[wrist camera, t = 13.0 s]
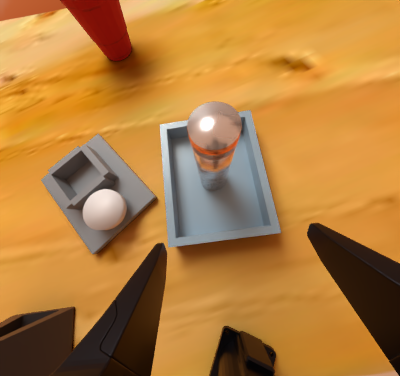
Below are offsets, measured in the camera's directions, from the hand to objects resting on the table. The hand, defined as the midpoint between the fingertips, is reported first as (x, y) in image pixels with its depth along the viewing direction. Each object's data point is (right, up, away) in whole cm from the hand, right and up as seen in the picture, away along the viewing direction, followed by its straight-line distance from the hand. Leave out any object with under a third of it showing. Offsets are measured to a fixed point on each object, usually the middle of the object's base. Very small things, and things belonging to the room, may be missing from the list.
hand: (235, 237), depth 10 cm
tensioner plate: (-19, +3, +16) cm, 25 cm away
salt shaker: (0, +5, +14) cm, 15 cm away
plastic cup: (-20, +33, +24) cm, 45 cm away
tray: (0, +4, +15) cm, 16 cm away
